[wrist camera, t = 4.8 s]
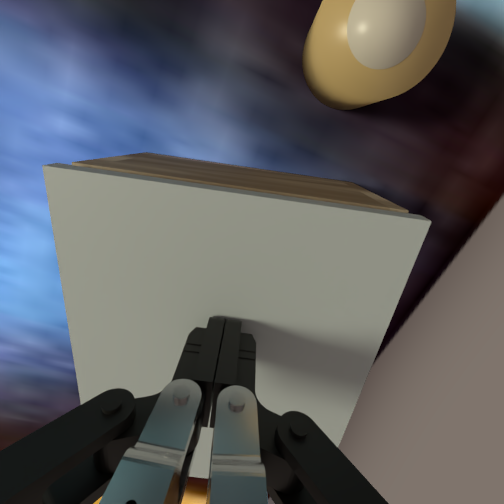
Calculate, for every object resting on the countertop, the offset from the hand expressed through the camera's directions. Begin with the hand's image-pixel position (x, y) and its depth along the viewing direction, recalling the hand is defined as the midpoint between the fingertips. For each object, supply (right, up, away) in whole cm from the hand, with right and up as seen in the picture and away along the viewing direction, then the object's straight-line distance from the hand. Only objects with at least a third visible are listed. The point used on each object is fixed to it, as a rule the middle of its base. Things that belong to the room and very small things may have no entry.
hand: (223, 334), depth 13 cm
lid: (0, -2, +2) cm, 3 cm away
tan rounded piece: (+7, +15, +4) cm, 17 cm away
